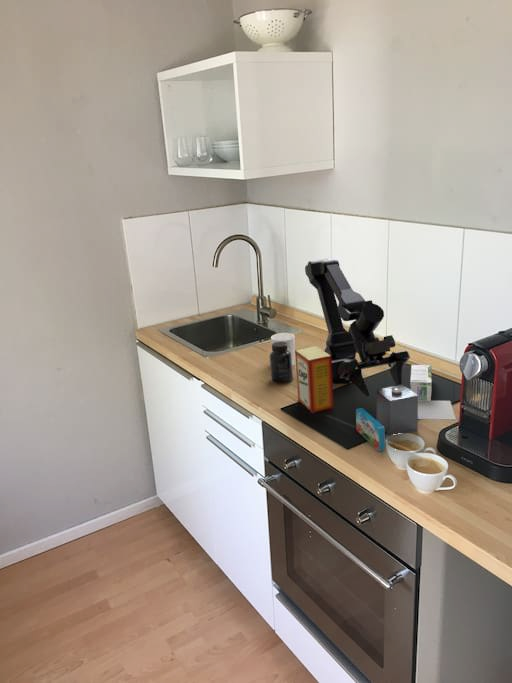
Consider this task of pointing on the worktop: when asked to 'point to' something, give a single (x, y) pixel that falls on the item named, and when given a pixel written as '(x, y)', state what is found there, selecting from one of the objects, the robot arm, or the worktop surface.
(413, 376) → the syrup box
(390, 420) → the charcoal cover canister
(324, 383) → the baking soda box
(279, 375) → the supplement bottle
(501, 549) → the worktop surface
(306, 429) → the worktop surface
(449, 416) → the grey rubber mat
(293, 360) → the white cup
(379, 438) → the light blue carton
